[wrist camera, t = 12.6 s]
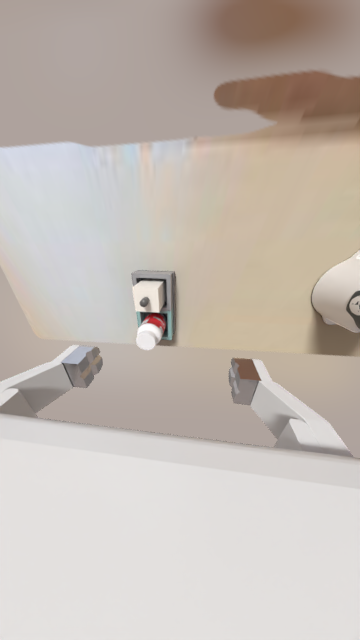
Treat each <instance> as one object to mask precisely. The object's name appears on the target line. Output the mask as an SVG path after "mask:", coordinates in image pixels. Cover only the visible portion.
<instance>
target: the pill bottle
mask: <svg viewBox="0 0 360 640" xmlns="http://www.w3.org/2000/svg"><path fill="white" fill-rule="evenodd" d="M166 325H167V319H166V317H165V316H164V315H163V314H162V313H149V314H148V315H147V317H146V318H145V320H144V321H143V323H142V324H141V325H140V327H139V329H138V331H137V338H136V343H137V345H138V346H139V347H140V348H142V349H144V350H151V349H153V348H154V347H155V345H156V344H157V343H159V342H160V340H161V338H162V335H163V333H164V330H165V328H166Z"/></svg>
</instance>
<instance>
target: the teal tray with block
mask: <svg viewBox="0 0 360 640" xmlns="http://www.w3.org/2000/svg"><path fill="white" fill-rule="evenodd" d="M131 275H132V282H133V287H132V290H133V297H134V305H135V311H136V313H137V320H138V328H139V327H140V325H141V324H142V323H143V321H144V320H145V318H146V317H147V315H148V314H149V313H162V314H163V315H164V316H165V317H166V319H167V325H166V328H165V330H164V333H163V335H162V338H161V339H163V340H172V337H173V334H174V333H175V272H173V271H141V270H137V271H135V272H133V273H131Z"/></svg>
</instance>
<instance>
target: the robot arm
mask: <svg viewBox="0 0 360 640" xmlns="http://www.w3.org/2000/svg"><path fill="white" fill-rule="evenodd" d="M312 304H313V306H314V308H315V309H316V310H317V311H318V312H319V313H320V314H321V315H322V318H323V321H324V322H325V323H326V324H328V325H334V324H338V325H340V326H342V327H344V328H346V329H348V330H350V331H352V332H355V333H358V332H360V250H359V251H358V252H356V253H355V254H354V255H353V256H352V257H351V258H349V259H348V260H346V261H344V262H342V263H339V264H338V265H336V266H334V267H333V268H331V269H330V270H328V271H327V272H326V273H325V274H324V275H323V276H322V277H321V278H320V279H319V281H318V282H317V284H316V285H315V287H314V290H313V293H312ZM99 353H100V350H99V348H98V347H93V346H84V345H71V346H70V347H69V348H68V349H67V350H65V351H64V352H63V353H62V354H60V355H59V356H58V357H57V358H56V359H54V360H53V361H52V362H47V363H45V364H43V365H40V366H38V367H35V368H33V369H31V370H28V371H25V372H23V373H21V374H18V375H16V376H13V377H11V378H9V379H6V380H4V381H1V382H0V640H360V458H355V457H353V455H352V454H351V453H350V451H349V450H348V448H347V447H346V446H345V444H344V443H343V441H342V440H341V439H340V437H339V436H338V434H337V433H336V432H335V430H334V429H333V427H332V426H331V425H330V423H329V422H328V421H326V420H325V419H324V418H323V417H321V416H320V415H319V414H317V413H316V412H315V411H313V410H312V409H311V408H309V407H308V406H307V405H305V404H304V403H302V402H301V401H300V400H299V399H297V398H296V397H295V396H293V395H292V394H291V393H289V392H288V391H287V390H285V389H284V388H283V387H281V386H280V385H279V384H277V383H275V382H273V381H272V379H271V377H270V375H269V374H268V372H267V370H266V368H265V366H264V364H263V362H262V360H260V359H245V358H232V361H231V365H232V367H231V368H230V369H229V383H230V386H231V387H232V392H231V393H232V397H233V401H234V403H237V404H244V405H250V406H251V408H252V409H253V410H254V411H255V413H256V414H257V415H258V416H259V417H260V419H261V420H262V421H263V422H264V424H265V425H266V426H267V427H268V428H269V430H270V431H271V432H272V433H273V435H274V436H275V437H276V438H277V439H278V441H277V442H276V445H275V446H274V447H267V446H259V445H251V444H243V443H235V442H227V441H219V440H211V439H202V438H194V437H187V436H178V435H171V434H163V433H155V432H147V431H139V430H131V429H123V428H114V427H107V426H99V425H91V424H83V423H75V422H66V421H58V420H51V419H43V418H38V417H37V415H36V414H35V413H37V412H38V411H40V410H41V409H43V408H44V407H45V406H47V405H48V404H50V403H51V402H53V401H54V400H56V399H57V398H58V397H60V396H61V395H63V394H64V393H66V392H67V391H69V390H70V389H72V388H73V387H82V388H87V387H88V386H89V384H90V383H91V382H92V380H93V379H94V375H95V374H97V373H99V371H100V370H101V367H102V365H103V362H102V358H101V357H100V356H99Z"/></svg>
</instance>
